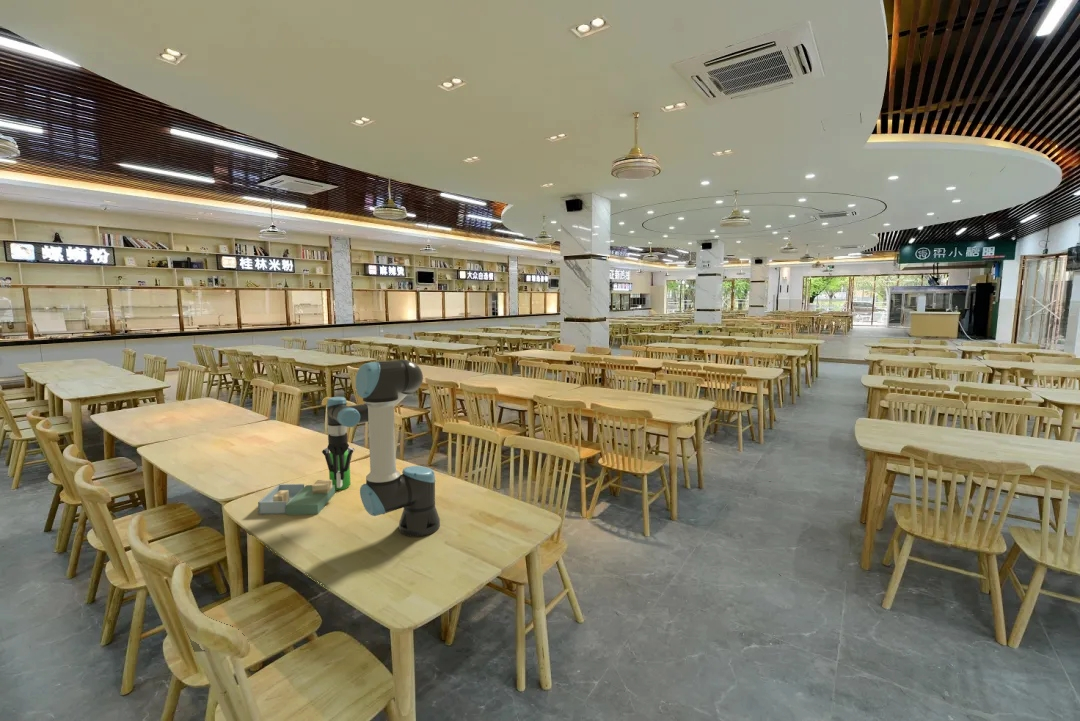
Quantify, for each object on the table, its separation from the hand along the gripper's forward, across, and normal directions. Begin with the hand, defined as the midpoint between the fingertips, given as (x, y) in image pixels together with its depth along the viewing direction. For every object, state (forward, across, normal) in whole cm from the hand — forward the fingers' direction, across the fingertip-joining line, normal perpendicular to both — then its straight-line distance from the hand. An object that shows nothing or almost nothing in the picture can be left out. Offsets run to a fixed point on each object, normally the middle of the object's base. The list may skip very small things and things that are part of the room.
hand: (339, 486), depth 198 cm
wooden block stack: (+2, +7, 0) cm, 7 cm away
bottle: (+6, +4, -13) cm, 15 cm away
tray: (+6, +22, +4) cm, 23 cm away
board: (+6, +10, +4) cm, 12 cm away
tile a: (+2, +19, +8) cm, 21 cm away
